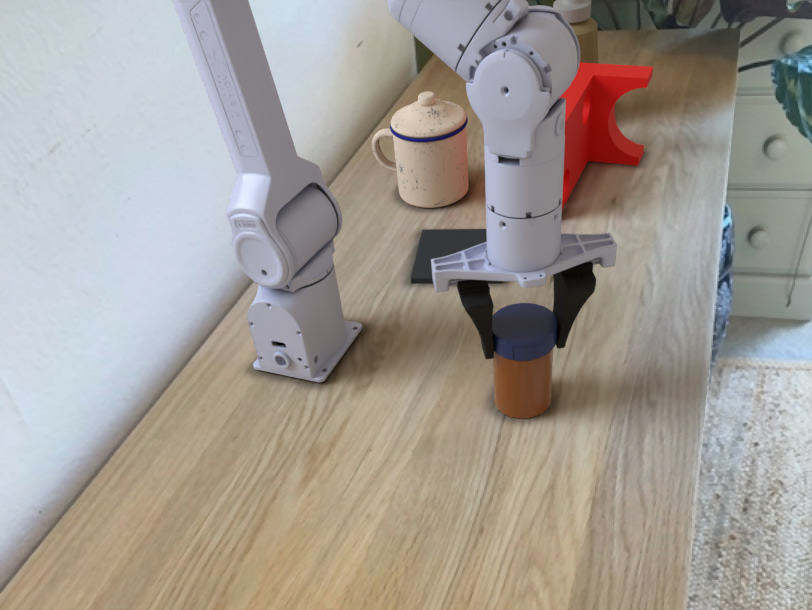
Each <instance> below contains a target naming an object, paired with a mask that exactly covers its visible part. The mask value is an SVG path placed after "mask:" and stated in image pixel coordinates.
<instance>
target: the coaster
mask: <svg viewBox="0 0 812 610" xmlns="http://www.w3.org/2000/svg"><path fill="white" fill-rule="evenodd" d="M485 242H487V233H486V228H447V229H446V228H445V229H443V228H439V229H438V228H437V229H432V228H431V229H422V230H421V234H420V238H419V242H418V245H417V249H416V250H417V251H416V254H415V258H414V262H413V266H412V270H411V275H410V283H411V284H416V283H417V284H434V283H433V278H432V266H431V259H435V258H440V257H444V256H448V255H451V254H454V253H457V252H460V251H463V250H465V249H468V248H471V247H474V246H476V245H479V244H482V243H485ZM487 282H488V284H503V283H504V281H487Z"/></svg>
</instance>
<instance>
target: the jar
mask: <svg viewBox="0 0 812 610" xmlns="http://www.w3.org/2000/svg"><path fill="white" fill-rule="evenodd" d="M492 361H493V363H492V366H493V396H494V397H493V401H494V406H495V408H496V409H497V410H498V411H499V412H500V413H501V414H503V415H505V416H507V417H510V418H513V419H530V418H535V417H537V416H540V415H543V413H546V411H547V410H548V409H549V408H550V407H551V406H550V405H551V403H552V393H553V391H552V390H553V388H552V387H553V365H554V349H553V350H552V351H551V352H549V353H548V354H547V355H545V356H543V357H541V358H538V359H534V360H528V361H516V360H510V359H507V358H504V357H502V356H500V355H498V354H497V353H496V352H495V351H494V358H493V359H492Z"/></svg>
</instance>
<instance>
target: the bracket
mask: <svg viewBox="0 0 812 610" xmlns="http://www.w3.org/2000/svg"><path fill="white" fill-rule="evenodd" d="M653 74H654V66H648V65H633V64H632V65H631V64H629V65H628V64H614V63H598V64H597V63H580V64H579V68H578V71H577V74H576V76H575V78H574V80H573V81H572V83H571V85H570V86H569V87H568V89H567V90H566V91H565V92H564V93H563V94H562V96H561V97H560V98H562V97H563V98H565V99H566V110H565V150H564V173H563V196H562V210H563V209H564V208H565V205H566V203H567V202H568V200H569V198H570V196H571V194H572V192H573V191H574V189H575V186H577V183H578V181H579V179H580V177H581V175H582V174H583V172H584V170H585V168H586V165H588V162H596V163H604V164H615V165H616V164H617V165H626V166H627V165H628V166H639V165H640V163H641V160H642V158H643V156H644V153H645V147H646V146H645V144H642V143H637V142H635V141H632V140H631V139H629V137H627V136H626V135H625V134H624V133H623V132H622V130H621V129H620V128H619V125H618V124H617V120H616V113H615V112H616V111H615V110H616V104H617V101H619V99H620V98H621V97H623V96H624V95H626V94H627V93H628V92H631V91H634V90H637V89H647V88H648V86H649V84H650V82H651V80H652V78H653ZM560 98H559V99H560Z"/></svg>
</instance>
